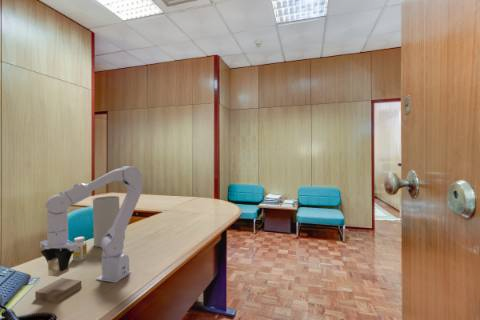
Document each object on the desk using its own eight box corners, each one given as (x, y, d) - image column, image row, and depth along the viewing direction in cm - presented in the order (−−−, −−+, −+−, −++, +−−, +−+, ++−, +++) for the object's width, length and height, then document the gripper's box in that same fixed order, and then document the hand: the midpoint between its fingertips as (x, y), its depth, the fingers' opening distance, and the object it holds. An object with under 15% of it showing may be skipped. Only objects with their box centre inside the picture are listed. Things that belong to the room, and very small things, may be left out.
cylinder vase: (88, 245, 125) (87, 199, 125) (110, 238, 136) (109, 195, 136) (104, 249, 120) (103, 200, 119) (125, 241, 131) (124, 196, 131)
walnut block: (81, 289, 84) (81, 280, 84) (56, 304, 75) (56, 295, 75) (62, 285, 86) (61, 277, 86) (35, 300, 78) (35, 291, 78)
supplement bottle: (84, 255, 113) (84, 235, 113) (88, 258, 109) (88, 237, 109) (71, 259, 109) (70, 238, 108) (74, 262, 105) (74, 240, 105)
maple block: (68, 271, 82) (68, 257, 82) (57, 276, 78) (56, 262, 78) (60, 269, 83) (59, 255, 83) (48, 275, 79) (48, 260, 79)
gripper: (29, 232, 79) (30, 272, 79) (62, 235, 75) (63, 277, 75) (51, 226, 85) (52, 263, 86) (82, 228, 82) (83, 267, 82)
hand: (58, 269), depth 81 cm, fingers closed on maple block, 4 cm apart
